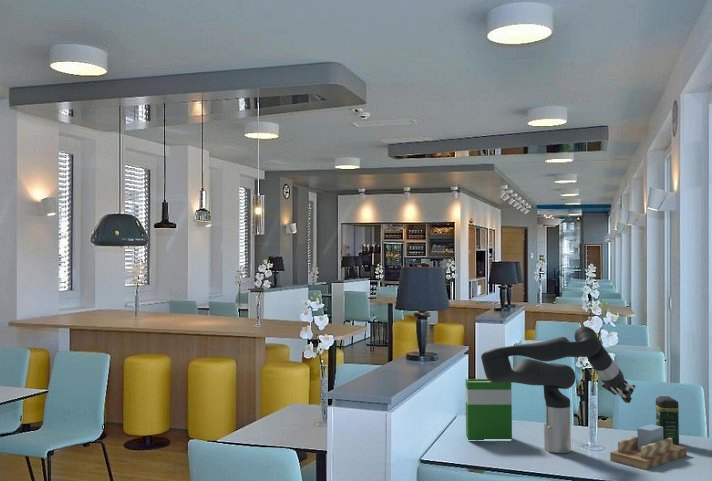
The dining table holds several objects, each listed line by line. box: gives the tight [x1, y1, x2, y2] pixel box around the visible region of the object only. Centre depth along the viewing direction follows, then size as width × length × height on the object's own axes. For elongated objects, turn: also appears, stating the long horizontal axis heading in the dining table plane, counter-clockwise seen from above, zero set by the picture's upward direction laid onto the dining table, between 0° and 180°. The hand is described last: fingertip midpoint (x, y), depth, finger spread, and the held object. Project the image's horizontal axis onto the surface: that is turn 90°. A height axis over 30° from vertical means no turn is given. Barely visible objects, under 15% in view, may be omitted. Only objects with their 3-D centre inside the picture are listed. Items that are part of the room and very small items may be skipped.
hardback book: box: [465, 378, 513, 441], centre depth 288 cm, size 18×7×24 cm, turn 88°
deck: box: [609, 435, 688, 471], centre depth 260 cm, size 28×14×7 cm, turn 127°
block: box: [637, 423, 663, 450], centre depth 261 cm, size 9×5×8 cm, turn 127°
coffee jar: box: [655, 395, 680, 446], centre depth 279 cm, size 10×8×19 cm
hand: (628, 400), depth 252 cm, fingers closed
